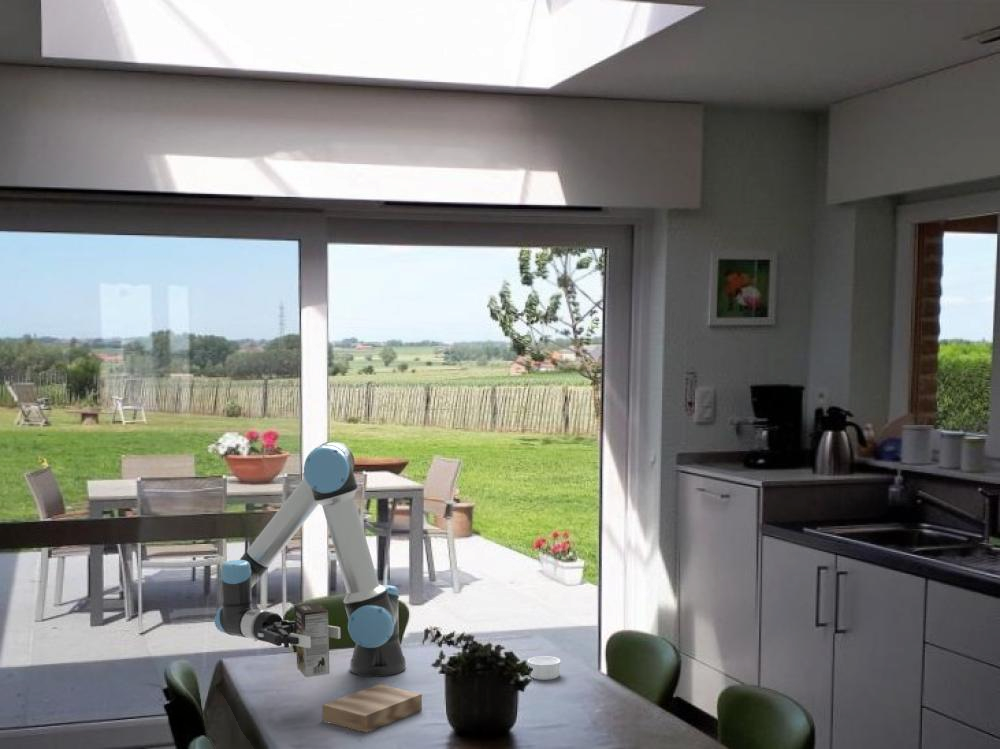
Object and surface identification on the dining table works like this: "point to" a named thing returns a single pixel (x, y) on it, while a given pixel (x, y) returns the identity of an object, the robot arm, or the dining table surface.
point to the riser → (372, 707)
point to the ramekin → (544, 667)
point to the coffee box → (313, 639)
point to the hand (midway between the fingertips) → (324, 637)
